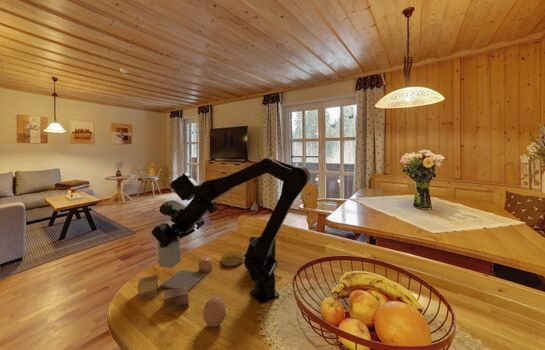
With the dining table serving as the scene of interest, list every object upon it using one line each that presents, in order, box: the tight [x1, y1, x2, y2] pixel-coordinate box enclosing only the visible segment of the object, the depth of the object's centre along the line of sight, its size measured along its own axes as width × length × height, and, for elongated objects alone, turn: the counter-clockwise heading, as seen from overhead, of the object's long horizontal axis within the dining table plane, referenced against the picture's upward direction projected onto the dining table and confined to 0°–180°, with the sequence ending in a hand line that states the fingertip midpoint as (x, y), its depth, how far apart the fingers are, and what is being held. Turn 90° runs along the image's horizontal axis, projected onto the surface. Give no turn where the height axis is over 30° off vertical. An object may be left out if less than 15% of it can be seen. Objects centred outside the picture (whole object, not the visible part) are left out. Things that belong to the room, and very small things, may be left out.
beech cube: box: [137, 274, 159, 301], centre depth 68 cm, size 4×4×4 cm
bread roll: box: [220, 248, 244, 267], centre depth 89 cm, size 8×9×4 cm
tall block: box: [156, 221, 182, 269], centre depth 74 cm, size 4×4×13 cm
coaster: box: [159, 269, 207, 293], centre depth 75 cm, size 10×10×1 cm
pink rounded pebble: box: [198, 255, 213, 274], centre depth 82 cm, size 4×4×4 cm
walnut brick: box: [162, 286, 190, 314], centre depth 63 cm, size 6×4×4 cm, turn 111°
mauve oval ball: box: [202, 296, 227, 328], centre depth 55 cm, size 5×5×7 cm
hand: (166, 243), depth 75 cm, fingers closed on tall block, 4 cm apart
